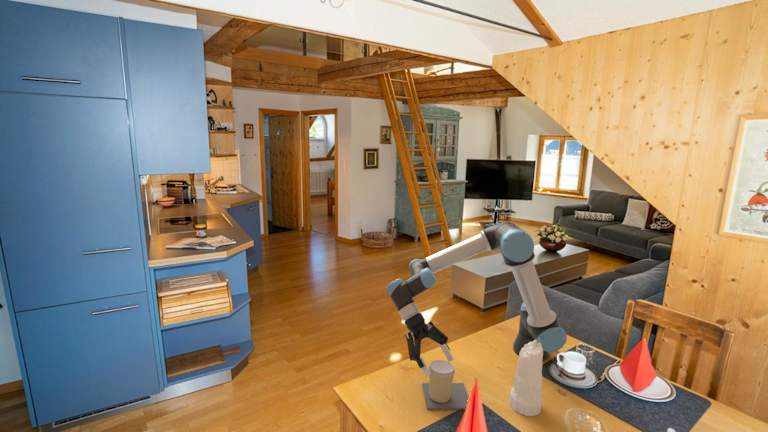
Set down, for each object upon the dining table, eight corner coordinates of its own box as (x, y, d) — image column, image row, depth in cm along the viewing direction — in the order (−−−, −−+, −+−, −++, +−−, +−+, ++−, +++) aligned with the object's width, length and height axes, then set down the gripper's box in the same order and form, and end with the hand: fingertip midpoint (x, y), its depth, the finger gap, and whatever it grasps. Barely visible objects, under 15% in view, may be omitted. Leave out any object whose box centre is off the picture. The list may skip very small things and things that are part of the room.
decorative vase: (525, 420, 136) (532, 355, 131) (503, 401, 146) (509, 339, 140) (547, 410, 141) (555, 347, 136) (524, 392, 151) (531, 333, 145)
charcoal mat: (463, 384, 155) (463, 382, 154) (471, 409, 141) (472, 407, 141) (422, 384, 154) (422, 382, 154) (427, 409, 140) (427, 407, 140)
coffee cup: (451, 390, 150) (454, 361, 148) (453, 405, 141) (455, 375, 139) (427, 387, 151) (429, 358, 149) (426, 402, 142) (429, 372, 140)
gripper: (427, 310, 165) (454, 358, 158) (384, 331, 149) (412, 384, 141) (437, 303, 161) (466, 351, 153) (394, 323, 144) (424, 378, 136)
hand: (440, 367), depth 147 cm, fingers open, 13 cm apart
